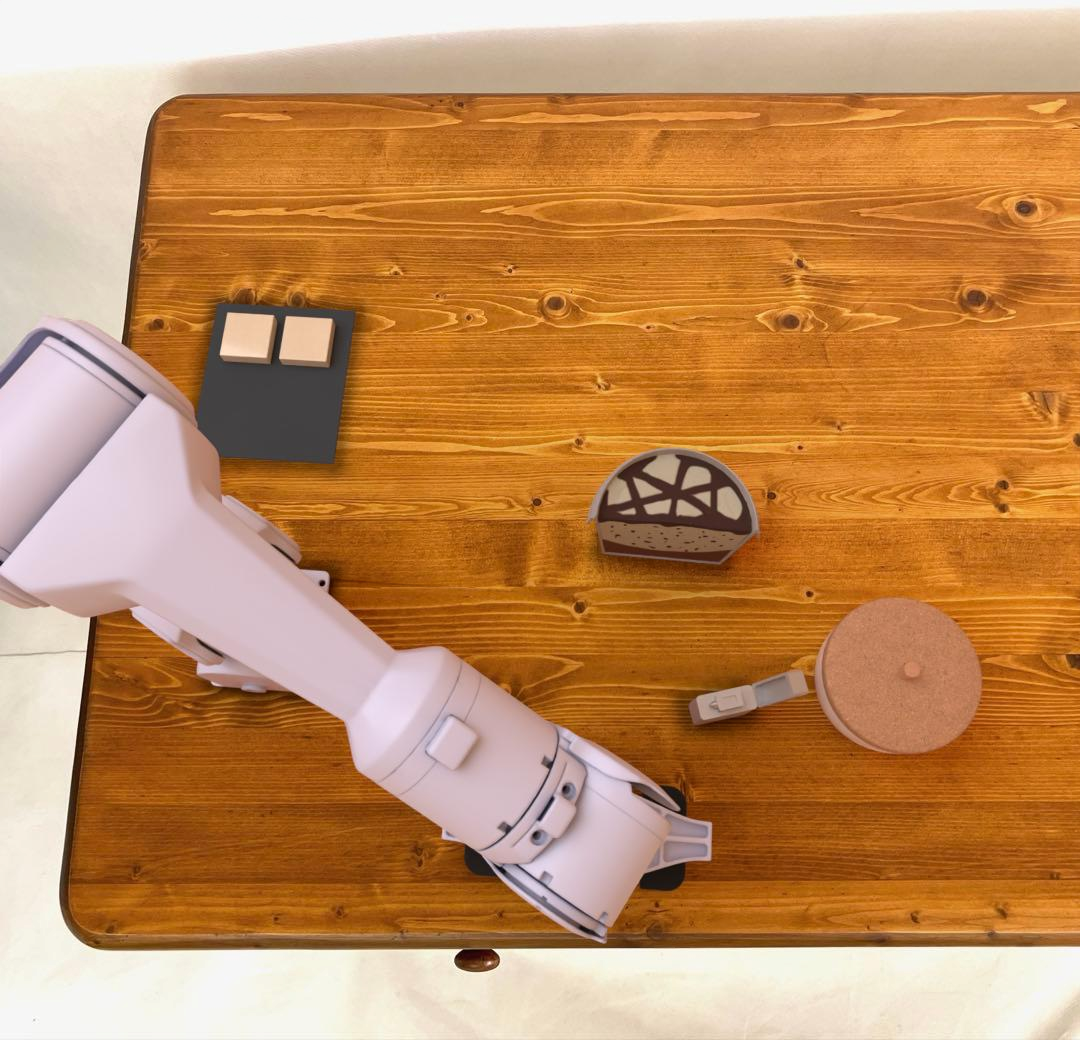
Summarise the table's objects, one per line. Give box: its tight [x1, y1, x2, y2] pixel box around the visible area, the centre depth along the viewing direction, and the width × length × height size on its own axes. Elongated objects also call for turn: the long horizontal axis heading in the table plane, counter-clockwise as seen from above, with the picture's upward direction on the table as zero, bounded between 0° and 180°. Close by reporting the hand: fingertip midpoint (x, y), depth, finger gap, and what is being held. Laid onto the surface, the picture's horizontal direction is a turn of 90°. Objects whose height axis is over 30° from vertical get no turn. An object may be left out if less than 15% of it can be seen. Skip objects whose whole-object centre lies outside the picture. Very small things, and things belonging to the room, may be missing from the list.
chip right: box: [279, 316, 335, 367], centre depth 82 cm, size 4×4×1 cm
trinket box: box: [813, 596, 983, 755], centre depth 70 cm, size 11×11×9 cm
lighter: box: [688, 669, 809, 726], centre depth 70 cm, size 7×2×8 cm, turn 102°
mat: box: [195, 302, 356, 465], centre depth 82 cm, size 14×12×1 cm
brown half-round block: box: [586, 446, 761, 566], centre depth 73 cm, size 12×6×10 cm, turn 84°
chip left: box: [220, 313, 277, 364], centre depth 82 cm, size 4×4×1 cm
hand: (574, 829), depth 61 cm, fingers open, 7 cm apart
